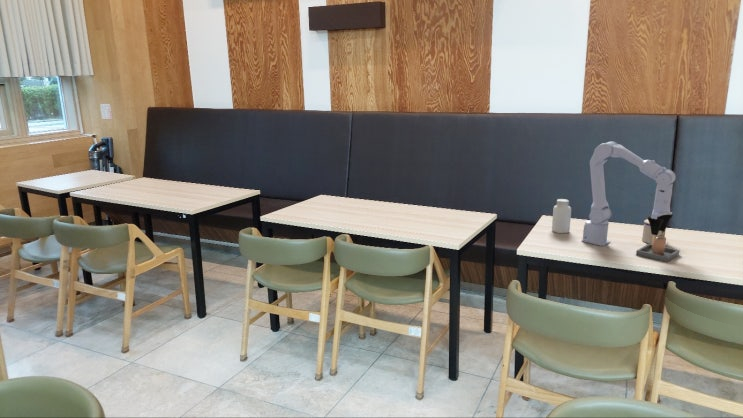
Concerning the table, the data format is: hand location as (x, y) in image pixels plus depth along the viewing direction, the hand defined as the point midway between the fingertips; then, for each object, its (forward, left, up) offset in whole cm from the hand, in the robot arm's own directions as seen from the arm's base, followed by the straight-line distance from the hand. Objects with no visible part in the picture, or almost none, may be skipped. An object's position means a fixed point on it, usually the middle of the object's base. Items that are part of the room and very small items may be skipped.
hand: (658, 232), depth 223 cm
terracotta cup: (+1, 0, -9) cm, 9 cm away
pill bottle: (-43, +2, -10) cm, 44 cm away
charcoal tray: (+1, 0, -9) cm, 9 cm away
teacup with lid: (-8, +18, -10) cm, 22 cm away
